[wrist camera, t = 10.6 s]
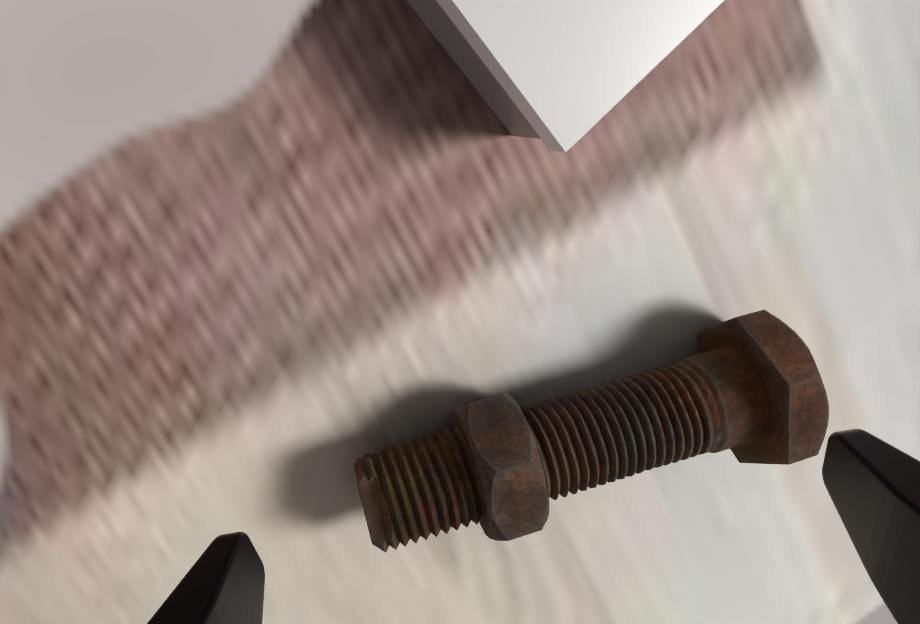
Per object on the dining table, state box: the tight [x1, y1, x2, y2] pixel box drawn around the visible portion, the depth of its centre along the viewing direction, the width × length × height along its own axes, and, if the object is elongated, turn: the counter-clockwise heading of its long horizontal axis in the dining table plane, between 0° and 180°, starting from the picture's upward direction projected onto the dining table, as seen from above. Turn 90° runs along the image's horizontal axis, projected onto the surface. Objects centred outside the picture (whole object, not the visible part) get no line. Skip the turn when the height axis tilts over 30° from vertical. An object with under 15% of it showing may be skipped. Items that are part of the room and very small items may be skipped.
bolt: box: [354, 310, 829, 552], centre depth 22 cm, size 6×5×15 cm
